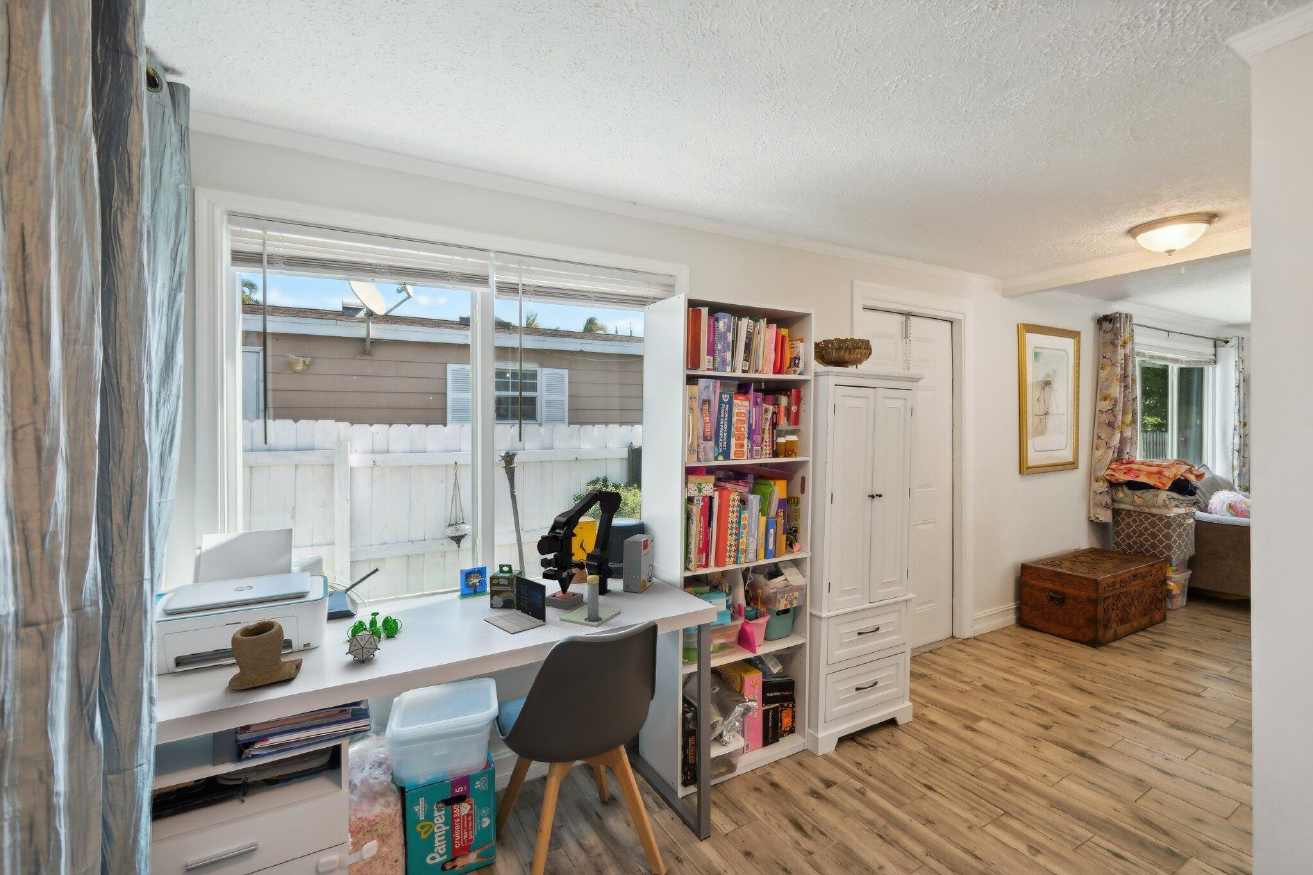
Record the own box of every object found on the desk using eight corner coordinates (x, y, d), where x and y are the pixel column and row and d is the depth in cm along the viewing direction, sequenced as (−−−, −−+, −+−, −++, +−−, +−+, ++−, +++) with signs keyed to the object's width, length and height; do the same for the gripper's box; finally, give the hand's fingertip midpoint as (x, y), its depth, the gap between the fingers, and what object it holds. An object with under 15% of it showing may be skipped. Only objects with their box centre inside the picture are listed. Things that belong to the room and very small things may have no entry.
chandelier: (335, 642, 166) (335, 619, 166) (371, 625, 181) (371, 604, 181) (379, 647, 163) (379, 623, 163) (412, 629, 178) (412, 607, 178)
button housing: (560, 597, 210) (560, 589, 210) (583, 601, 206) (583, 593, 206) (544, 605, 201) (544, 597, 201) (567, 609, 197) (567, 601, 197)
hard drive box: (640, 593, 217) (641, 541, 216) (622, 591, 219) (622, 540, 219) (654, 583, 231) (654, 534, 231) (636, 581, 234) (636, 533, 233)
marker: (594, 616, 188) (593, 574, 187) (601, 619, 185) (601, 576, 185) (585, 619, 185) (584, 576, 185) (592, 621, 182) (591, 578, 182)
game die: (358, 676, 152) (334, 654, 147) (360, 654, 159) (338, 632, 154) (389, 658, 154) (366, 635, 149) (390, 636, 161) (368, 614, 156)
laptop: (483, 620, 186) (483, 581, 186) (516, 612, 195) (516, 574, 195) (511, 635, 173) (511, 593, 173) (546, 625, 182) (546, 585, 182)
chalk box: (523, 600, 207) (523, 560, 206) (514, 608, 197) (514, 566, 197) (498, 600, 208) (498, 560, 207) (488, 608, 198) (488, 566, 198)
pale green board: (586, 606, 200) (586, 604, 200) (620, 612, 194) (620, 610, 194) (559, 620, 186) (559, 617, 186) (595, 627, 180) (595, 624, 180)
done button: (562, 596, 208) (562, 590, 207) (575, 599, 205) (575, 592, 205) (552, 601, 202) (552, 594, 202) (566, 603, 199) (566, 596, 199)
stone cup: (225, 700, 131) (224, 636, 131) (231, 680, 141) (230, 620, 141) (302, 684, 139) (302, 624, 139) (302, 667, 149) (302, 610, 149)
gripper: (561, 543, 215) (561, 584, 215) (529, 553, 198) (529, 597, 199) (585, 546, 210) (585, 588, 211) (555, 556, 193) (555, 602, 194)
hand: (564, 593), depth 203 cm, fingers closed, pressing on done button
